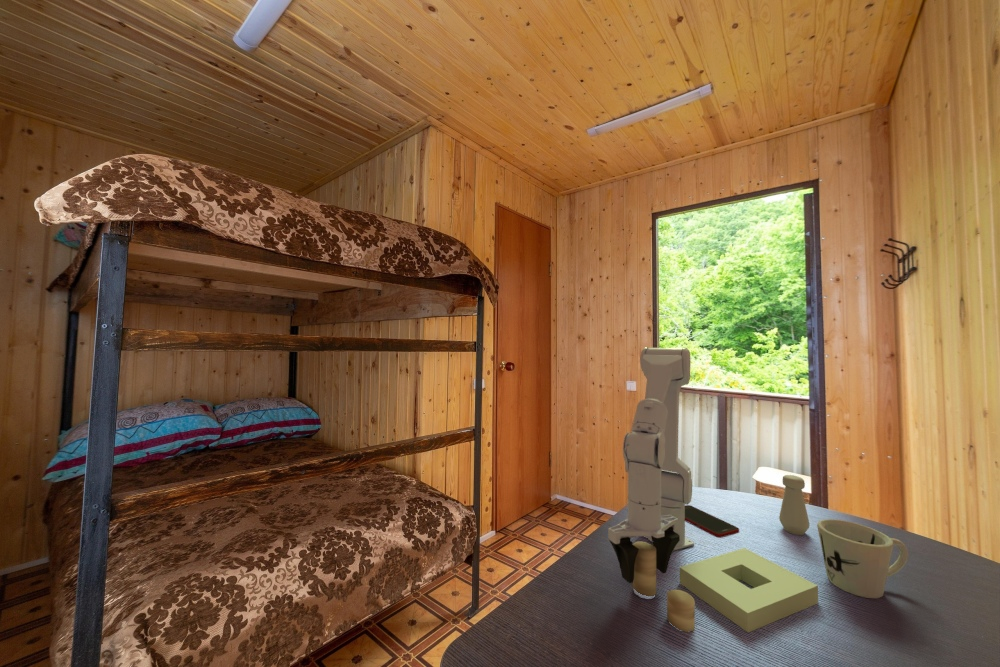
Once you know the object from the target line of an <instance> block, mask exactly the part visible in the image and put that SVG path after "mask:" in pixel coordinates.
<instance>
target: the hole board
mask: <svg viewBox="0 0 1000 667" xmlns="http://www.w3.org/2000/svg"><path fill="white" fill-rule="evenodd" d="M741 581H742V582H744V583H745V584H747V585H749V586H751V587H752V588H751V587H748V586H747V585H745V584H744V583H742V582H741ZM680 583H681V584H682V585H681V584H680ZM679 584H680V585H681V586H683V587H684V586H685V587H686V588H685V589H687V590H688V591H690V592H691V593H693V594H694V595H695V596H697V597H698V598H699V599H700V600H702V601H703V602H705V603H707V604H708V605H709V606H710V607H711V608H713V609H715V611H718V613H720V614H722V615H723V616H724V617H725V618H727V619H729V620H730V621H731V622H733V624H736V625H737V626H738V627H739V628H740V629H742V630H743V631H745V632H746V633H748V634H749V633H751V632H754V631H755V630H758V629H760V628H762V627H765V626H768V625H770V624H772V623H774V622H777V621H779V620H782V619H785V618H786V617H788V616H791V615H793V614H796V613H798V612H800V611H803V610H806V609H807V608H810V607H812V606H815V605H818V604H819V585H818V584H815V583H813V582H812V581H810V580H807V579H806V578H804V577H802V576H801V575H799V574H797V573H795V572H792V571H790V570H788V569H787V568H784V567H783V566H780V564H777V563H775V562H772V560H769V559H768V558H765V557H764V556H761V555H759V554H757V553H755V552H754V551H751V550H750V549H748V548H746V547H743V548H740V549H736V550H732V551H729V552H727V553H722V554H719V555H715V556H712V557H710V558H706V559H702V560H699V561H695V562H693V563H688V564H686V565H681V566H679Z"/></svg>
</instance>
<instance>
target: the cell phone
mask: <svg viewBox="0 0 1000 667" xmlns="http://www.w3.org/2000/svg"><path fill="white" fill-rule="evenodd" d="M685 520H687V521H689V522H690V523H689V522H688V523H689V524H691V523H692V525H693V524H694V525H693V526H695V525H696V527H698V528H699V529H701V530H703V531H705V532H707V533H709V534H711V535H713V536H715V537H718V538H723V537H726V536H730V535H734V534H736V533H737V534H738V533H739V532H740V528H739V527H737V526H736V525H733V524H732V523H729V522H727V521H725V520H722V519H721V518H718V517H716V516H714V515H712V514H710V513H708V512H705V511H703V510H701V509H699V508H697V507H695V506H692V505H690V504H688V505H687V504H685ZM687 521H686V522H687Z"/></svg>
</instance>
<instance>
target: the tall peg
mask: <svg viewBox="0 0 1000 667" xmlns="http://www.w3.org/2000/svg"><path fill="white" fill-rule="evenodd" d="M632 545H634V546H635V547H637V548H638V549H639V551H638V553H637V556H636V560H635V565H634V580H633V583H632V589H633V588H634V589H635V590H636V591H637V592H638V593H640V594H642V595H646V596H654V595H655V594H656V595H657V569H656V548H655V547H654V546H653V543H652V544H651V543H649V542H646V541H634V542H632Z"/></svg>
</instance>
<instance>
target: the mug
mask: <svg viewBox="0 0 1000 667" xmlns="http://www.w3.org/2000/svg"><path fill="white" fill-rule="evenodd" d="M816 526H817V530H818V537H819V540H820V546H821V547H820V548H821V552H822V557H823V562H824V565H825V571H826V576H827V578H828V580H829V582H831V583H832V584H833V585H834V586H835V587H838V588H839V589H840V590H842V591H845V592H847V593H848V594H849V593H850V594H851V595H854V596H858V597H862V598H867V599H880V598H882V597H884V592H885V588H886V583H887V579H888V578H889V577H892V576H894V575H895V574H897V573H898V572H899V571H901V570H902V569H903V568H904V566H906V564H907V562H908V560H909V554H910V553H909V551H908V548H907V546H906V544H905V543H903V541H901V539H897V538H893V537H890V536H888V535H887V534H885V533H884V532H881V531H880V530H877V529H874V528H872V527H869V526H866V525H864V524H860V523H857V522H853V521H848V520H841V519H833V518H832V519H831V518H830V519H827V518H826V519H821V520H818V522H817V525H816ZM894 546H896V547H898V549H899V554H898V557H897V559H896V560H895V561H894V563H893V564H891V558H892V553H893V549H894ZM890 564H891V565H890Z"/></svg>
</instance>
